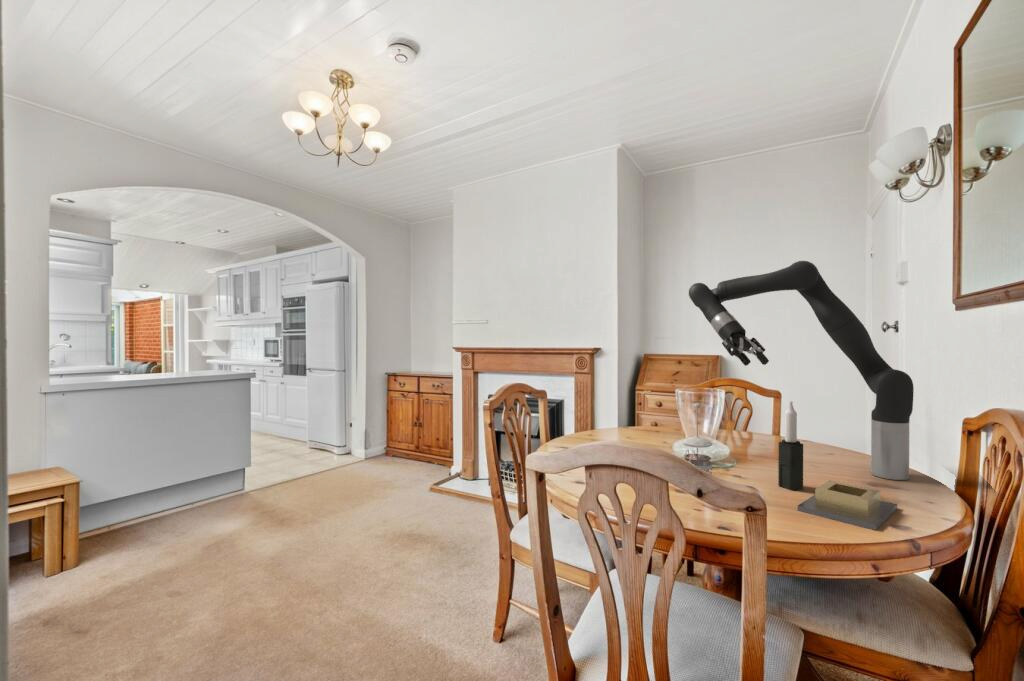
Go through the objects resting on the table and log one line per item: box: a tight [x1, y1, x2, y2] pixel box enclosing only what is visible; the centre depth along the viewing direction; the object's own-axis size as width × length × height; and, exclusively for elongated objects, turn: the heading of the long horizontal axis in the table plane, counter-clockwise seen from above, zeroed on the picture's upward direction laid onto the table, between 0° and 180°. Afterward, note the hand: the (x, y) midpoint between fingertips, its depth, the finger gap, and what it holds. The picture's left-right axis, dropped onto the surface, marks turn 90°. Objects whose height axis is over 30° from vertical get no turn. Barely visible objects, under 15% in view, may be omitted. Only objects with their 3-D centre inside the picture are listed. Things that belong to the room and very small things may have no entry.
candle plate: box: [797, 479, 898, 531], centre depth 119 cm, size 20×16×5 cm
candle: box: [777, 400, 804, 491], centre depth 137 cm, size 5×5×25 cm
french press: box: [682, 402, 713, 475], centre depth 134 cm, size 10×12×25 cm
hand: (757, 363), depth 151 cm, fingers open, 8 cm apart
